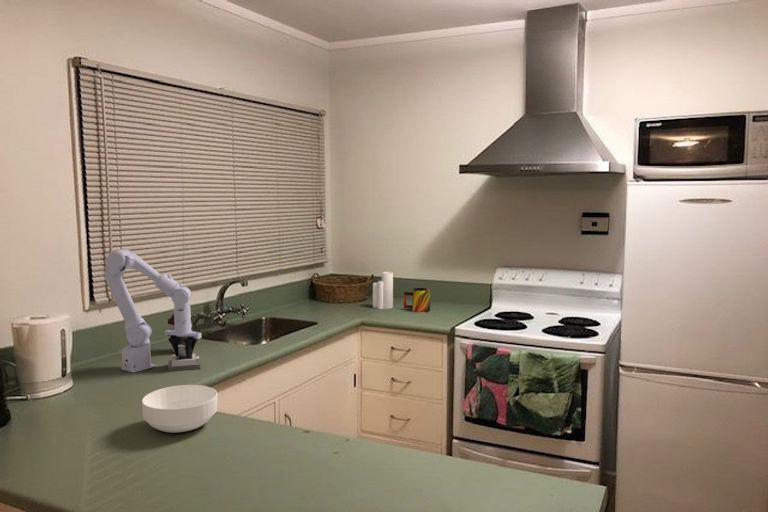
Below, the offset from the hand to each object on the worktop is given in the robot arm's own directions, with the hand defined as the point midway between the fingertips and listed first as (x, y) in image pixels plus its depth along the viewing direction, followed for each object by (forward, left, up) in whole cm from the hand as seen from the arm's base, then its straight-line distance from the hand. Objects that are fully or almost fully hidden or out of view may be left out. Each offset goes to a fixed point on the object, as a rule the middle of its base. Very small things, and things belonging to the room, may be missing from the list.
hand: (183, 356), depth 217 cm
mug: (+140, -16, -4) cm, 141 cm away
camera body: (0, 0, -4) cm, 4 cm away
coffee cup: (+13, +19, -4) cm, 23 cm away
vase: (+136, +5, -4) cm, 136 cm away
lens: (0, 0, -2) cm, 2 cm away
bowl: (-35, -46, -4) cm, 58 cm away
